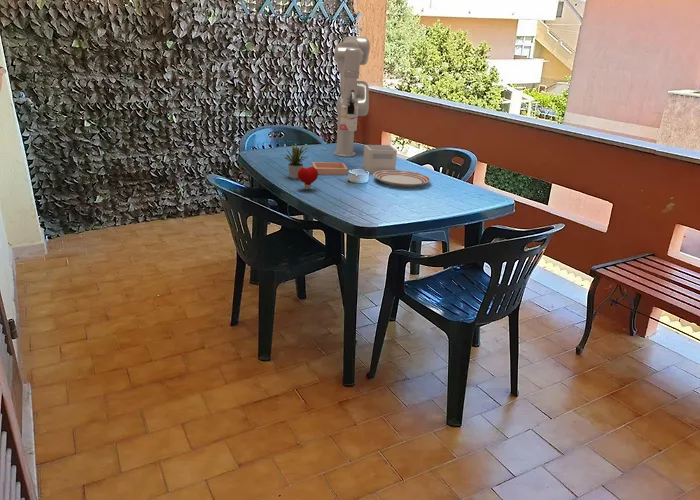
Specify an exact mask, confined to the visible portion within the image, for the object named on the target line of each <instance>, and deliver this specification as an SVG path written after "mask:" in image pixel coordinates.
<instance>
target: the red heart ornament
mask: <svg viewBox="0 0 700 500" xmlns="http://www.w3.org/2000/svg"><path fill="white" fill-rule="evenodd" d="M298 178H299V179H298V180H299V181H301V183H304V189H305V190H306V191H308V190H311V185H312V184H313V183H314V182H315V181H316V180H317V179H318V178H319V175H318V171H317V169H316V168H314V167H312V166H310V167H309V166H308V167H304V166H303V168H301V169H300V170H299V171H298Z"/></svg>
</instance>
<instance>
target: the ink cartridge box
mask: <svg viewBox="0 0 700 500" xmlns="http://www.w3.org/2000/svg"><path fill="white" fill-rule="evenodd" d="M347 102H348V99H343V100H342V106H341V116H340V130H348V131H354V132H357V129H358V118H359V116H358V100H354V104H355V105H354V114H348V113H347V112H348V105H349V103H347Z"/></svg>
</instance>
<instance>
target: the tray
mask: <svg viewBox="0 0 700 500" xmlns="http://www.w3.org/2000/svg"><path fill="white" fill-rule="evenodd" d="M311 167H314V168H316V169H317V171H318V176H319V175H321V176H322V175H323V176H325V175H326V176H327V175H328V176H338V175H339V176H347V175H348V172H349V171H348V169H349V168H348V167H347V166H346V165H345V163H344V162H330V161H329V162H322V161H321V162H320V161H319V162H318V161H316V162H315V161H314V162H313V161H312V162H311ZM346 174H347V175H346Z"/></svg>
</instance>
